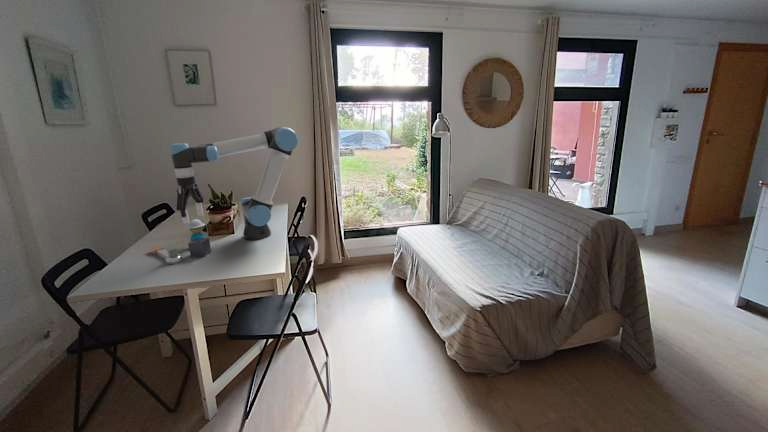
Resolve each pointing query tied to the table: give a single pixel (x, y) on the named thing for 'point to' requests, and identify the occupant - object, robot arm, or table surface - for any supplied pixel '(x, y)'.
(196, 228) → the toy
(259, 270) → the table surface
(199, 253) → the dark charcoal cube
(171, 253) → the ratchet
